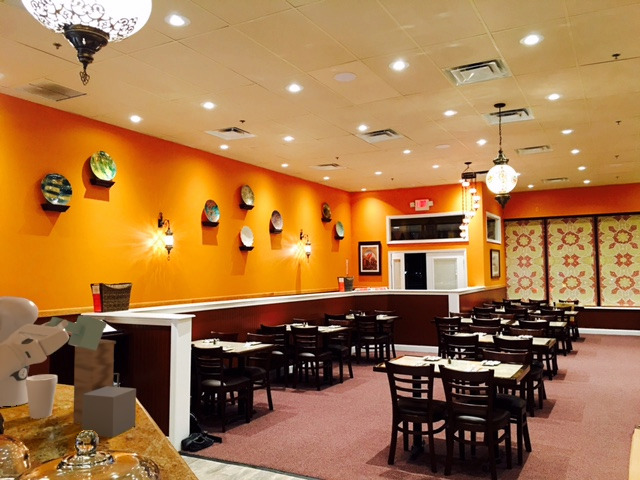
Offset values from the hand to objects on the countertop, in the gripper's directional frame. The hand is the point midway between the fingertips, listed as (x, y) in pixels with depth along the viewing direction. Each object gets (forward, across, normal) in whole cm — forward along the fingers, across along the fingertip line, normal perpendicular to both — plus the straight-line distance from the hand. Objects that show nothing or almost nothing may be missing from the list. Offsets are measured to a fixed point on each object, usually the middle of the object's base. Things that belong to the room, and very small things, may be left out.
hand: (62, 321), depth 157 cm
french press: (+6, -19, -44) cm, 49 cm away
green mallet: (-1, 0, -8) cm, 8 cm away
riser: (-5, +4, -37) cm, 38 cm away
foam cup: (-8, -28, -36) cm, 46 cm away
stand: (-3, -8, -38) cm, 39 cm away
